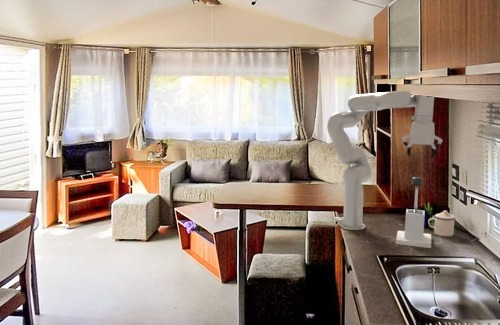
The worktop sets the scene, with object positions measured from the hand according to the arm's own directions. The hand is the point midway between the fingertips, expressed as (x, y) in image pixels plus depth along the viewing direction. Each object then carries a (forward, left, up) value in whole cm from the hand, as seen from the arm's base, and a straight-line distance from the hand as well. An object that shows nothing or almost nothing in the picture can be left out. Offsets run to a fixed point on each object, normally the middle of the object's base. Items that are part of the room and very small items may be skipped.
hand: (420, 156), depth 202 cm
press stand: (-1, -1, -40) cm, 40 cm away
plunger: (-1, -1, -28) cm, 28 cm away
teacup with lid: (+11, +16, -40) cm, 44 cm away
